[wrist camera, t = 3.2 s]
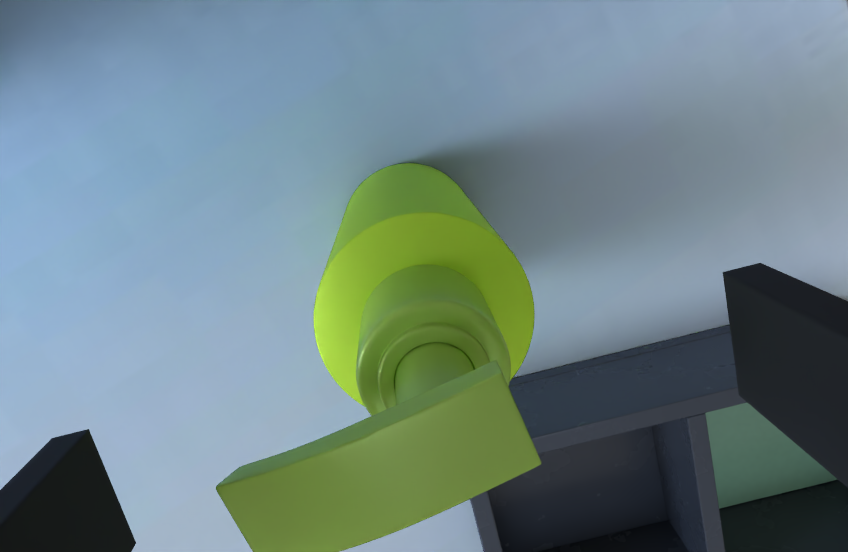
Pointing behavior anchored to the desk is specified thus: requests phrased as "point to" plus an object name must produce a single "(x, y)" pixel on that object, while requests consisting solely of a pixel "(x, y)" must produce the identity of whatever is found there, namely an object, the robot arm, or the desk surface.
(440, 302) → the soap dispenser
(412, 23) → the desk surface
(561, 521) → the rack
